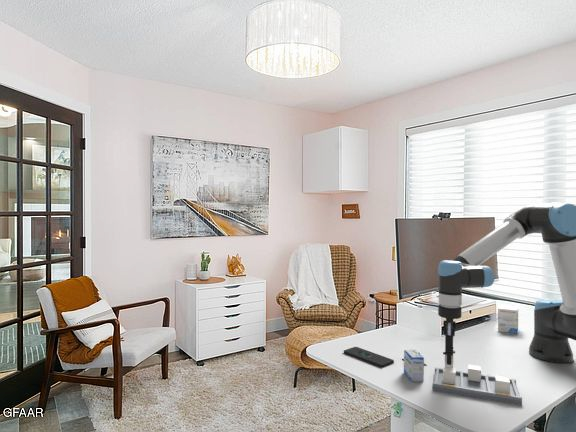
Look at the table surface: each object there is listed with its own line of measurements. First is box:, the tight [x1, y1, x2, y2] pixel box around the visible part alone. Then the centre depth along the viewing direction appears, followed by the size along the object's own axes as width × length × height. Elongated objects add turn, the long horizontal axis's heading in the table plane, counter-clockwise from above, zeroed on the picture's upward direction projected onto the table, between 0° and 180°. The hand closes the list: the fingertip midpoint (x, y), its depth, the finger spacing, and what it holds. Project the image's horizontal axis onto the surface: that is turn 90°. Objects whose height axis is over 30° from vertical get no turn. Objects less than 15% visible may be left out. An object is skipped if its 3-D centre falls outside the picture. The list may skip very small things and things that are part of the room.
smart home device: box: [343, 346, 395, 369], centre depth 161 cm, size 8×2×20 cm
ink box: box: [497, 304, 519, 335], centre depth 197 cm, size 9×8×12 cm
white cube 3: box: [442, 366, 457, 385], centre depth 136 cm, size 4×4×4 cm
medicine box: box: [403, 349, 425, 382], centre depth 143 cm, size 8×4×9 cm, turn 5°
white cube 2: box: [467, 364, 482, 382], centre depth 138 cm, size 4×4×4 cm
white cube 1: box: [494, 375, 510, 394], centre depth 129 cm, size 4×4×4 cm
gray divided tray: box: [432, 366, 523, 406], centre depth 135 cm, size 26×15×2 cm, turn 67°
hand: (448, 372), depth 139 cm, fingers closed
